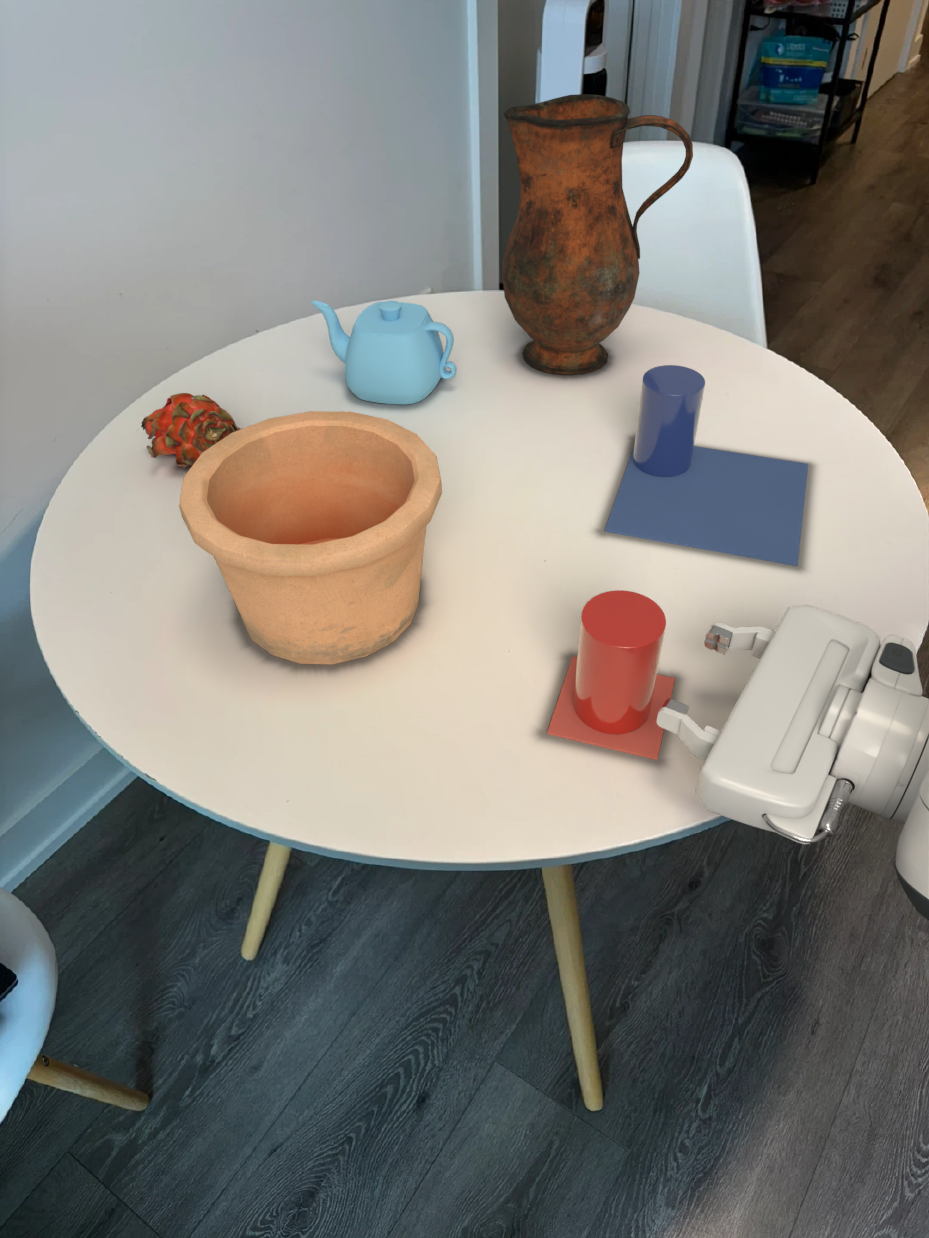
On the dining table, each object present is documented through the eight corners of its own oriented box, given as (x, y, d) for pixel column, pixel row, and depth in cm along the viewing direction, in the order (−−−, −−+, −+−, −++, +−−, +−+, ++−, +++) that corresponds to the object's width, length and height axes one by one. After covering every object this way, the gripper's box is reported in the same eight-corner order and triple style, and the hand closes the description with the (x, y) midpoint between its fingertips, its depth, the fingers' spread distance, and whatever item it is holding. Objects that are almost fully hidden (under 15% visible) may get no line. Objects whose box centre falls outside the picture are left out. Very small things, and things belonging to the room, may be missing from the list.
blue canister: (694, 450, 104) (709, 369, 97) (686, 481, 100) (700, 399, 93) (638, 441, 106) (648, 361, 99) (627, 472, 101) (637, 390, 95)
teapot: (327, 276, 116) (466, 287, 113) (337, 354, 123) (468, 367, 120) (291, 320, 107) (441, 334, 104) (304, 402, 114) (444, 417, 111)
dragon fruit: (247, 484, 105) (162, 478, 109) (264, 414, 106) (180, 411, 110) (203, 455, 97) (113, 450, 101) (222, 380, 98) (132, 378, 103)
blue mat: (807, 466, 102) (808, 463, 102) (796, 567, 90) (797, 564, 90) (636, 440, 107) (637, 437, 106) (604, 532, 94) (604, 529, 94)
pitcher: (512, 324, 129) (516, 82, 108) (667, 337, 125) (702, 89, 104) (488, 383, 117) (488, 124, 96) (658, 399, 113) (696, 134, 93)
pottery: (175, 592, 89) (135, 467, 79) (366, 506, 99) (352, 385, 89) (285, 728, 76) (255, 599, 67) (493, 614, 86) (493, 487, 76)
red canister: (631, 669, 80) (644, 582, 73) (663, 723, 75) (681, 636, 69) (561, 686, 79) (568, 599, 72) (591, 742, 74) (601, 655, 67)
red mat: (674, 681, 79) (675, 677, 79) (657, 761, 73) (657, 757, 73) (572, 659, 82) (572, 655, 81) (546, 734, 75) (547, 731, 75)
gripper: (815, 879, 61) (623, 791, 67) (892, 683, 73) (725, 622, 79) (840, 825, 57) (633, 735, 62) (917, 626, 69) (738, 565, 75)
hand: (685, 670), depth 71 cm, fingers open, 8 cm apart
